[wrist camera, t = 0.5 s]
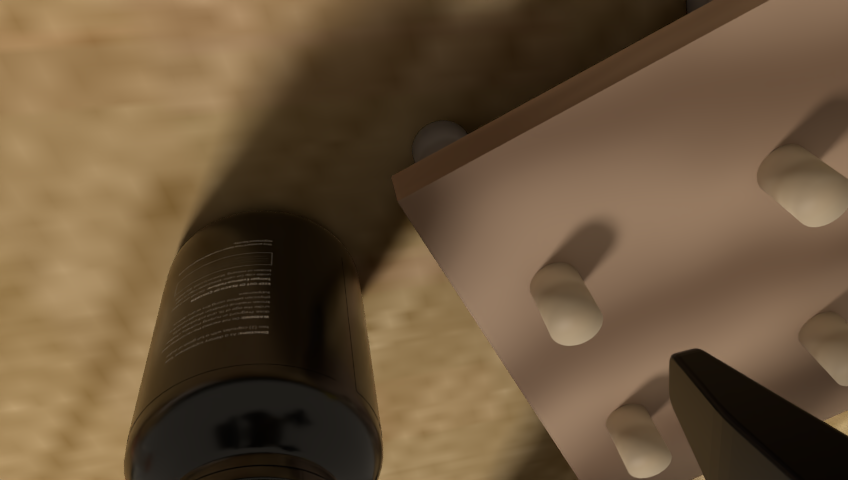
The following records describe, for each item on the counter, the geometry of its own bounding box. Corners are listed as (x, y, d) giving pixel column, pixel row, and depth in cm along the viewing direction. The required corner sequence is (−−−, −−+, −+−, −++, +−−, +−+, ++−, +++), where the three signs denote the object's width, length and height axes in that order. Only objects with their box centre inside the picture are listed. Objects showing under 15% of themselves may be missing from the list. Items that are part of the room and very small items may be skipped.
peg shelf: (832, 311, 31) (947, 422, 25) (568, 435, 32) (622, 562, 27) (751, -73, 21) (908, -27, 16) (381, 134, 23) (406, 240, 17)
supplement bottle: (158, 341, 26) (71, 681, 16) (183, 185, 23) (93, 490, 13) (336, 364, 28) (357, 680, 18) (382, 223, 25) (440, 514, 15)
